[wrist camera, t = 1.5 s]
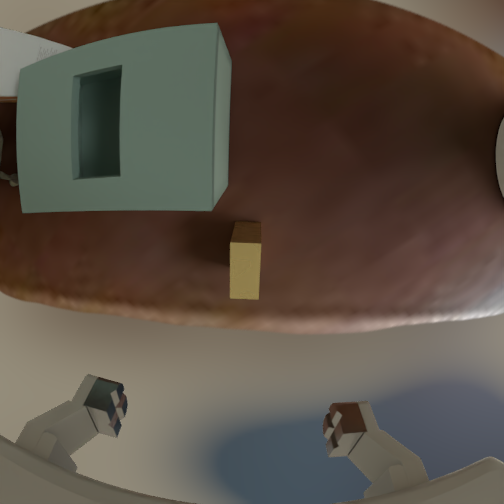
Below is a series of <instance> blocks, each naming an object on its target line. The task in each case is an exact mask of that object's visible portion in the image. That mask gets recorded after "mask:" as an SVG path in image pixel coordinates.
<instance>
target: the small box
mask: <svg viewBox="0 0 504 504" xmlns="http://www.w3.org/2000/svg"><path fill="white" fill-rule="evenodd" d="M70 49H73V48H71V47H68V46H65V45H62V44H59V43H56V42H53V41H50V40H46V39H43V38H40V37H37V36H33V35H30V34H26V33H22V32H18V31H14V30H11V29H6V28H2V27H0V103H12V102H17V98H18V85H19V76H20V69H22V68H24V67H26V66H28V65H31V64H33V63H35V62H38V61H40V60H43V59H45V58H48V57H51V56H53V55H56V54H59V53H62V52H64V51H67V50H70Z"/></svg>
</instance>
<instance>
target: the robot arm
mask: <svg viewBox="0 0 504 504" xmlns="http://www.w3.org/2000/svg"><path fill="white" fill-rule="evenodd" d="M496 170H497V177H498V182H499V186H500V189H501V192H502V195H503V197H504V118H503V120H502V122H501V125H500V128H499V132H498V136H497V143H496ZM123 391H124V386H123V384H122V383H118V382H115V381H111V380H107V379H104V378H100V377H97V376H93V375H90V374H88V375H87V376H86V377H85V378H84V380H83V381H82V383H81V385H80V387H79V388H78V390H77V392H76V394H75V396H74V397H73V399H72V401H66V402H65V403H63V404H61V405H59V406H57V407H55V408H53V409H51V410H49V411H48V412H46V413H44V414H42V415H40V416H38V417H36V418H34V419H32V420H30V421H28V422H27V424H26V425H25V427H24V429H23V430H22V432H21V434H20V436H19V437H18V439H17V441H16V443H13V442H11V441H10V440H8V439H6V438H5V437H3V436H1V435H0V504H196V503H188V502H182V501H176V500H170V499H165V498H160V497H155V496H150V495H146V494H142V493H138V492H134V491H130V490H127V489H123V488H119V487H116V486H113V485H109V484H106V483H103V482H100V481H97V480H94V479H92V478H89V477H86V476H83V475H81V474H78V473H76V470H77V466H76V464H75V463H74V461H73V460H72V459H71V457H70V455H71V454H73V453H74V452H75V451H76V450H78V449H79V448H81V447H82V446H83V445H84V444H85V443H87V442H88V441H90V440H91V439H92V438H94V437H95V436H96V435H97V434H98V433H101V434H105V435H108V436H112V437H118V434H119V431H120V429H121V422H120V420H121V419H123V418H124V417H125V415H126V412H127V405H128V404H127V397H126V396H125V395H124V394H123ZM329 411H330V413H328V414H327V415H326V416H325V418H324V421H323V434H324V436H325V437H326V438H327V439H328V441H327V443H326V448H327V453H328V457H339V456H348V458H349V459H350V460H351V461H352V462H353V463H354V464H355V465H356V466H357V467H358V468H359V469H360V470H361V472H363V474H364V475H366V477H367V478H368V479H369V480H370V481H371V482H372V483H373V484H372V485H371V486H370V487H369V488H368V489H367V490H366V491H365V492H364V497H365V498H364V499H359V500H353V501H348V502H341V503H334V504H504V463H503V462H501V461H499V460H498V459H496V458H493V457H486V458H484V459H482V460H480V461H477V462H475V463H473V464H471V465H469V466H467V467H465V468H462V469H460V470H457V471H455V472H452V473H450V474H447V475H445V476H442V477H439V478H436V479H434V480H431V481H429V479H428V476H427V474H426V471H425V469H424V466H423V464H422V461H421V459H420V458H419V457H418V456H417V455H415V454H414V453H412V452H411V451H410V450H408V449H407V448H406V447H404V446H403V445H402V444H400V443H399V442H398V441H396V440H395V439H394V438H392V437H391V436H390V435H388V434H387V433H386V432H385V431H383V430H379V428H378V425H377V422H376V419H375V417H374V414H373V412H372V409H371V406H370V404H369V402H368V401H360V402H342V403H332V404H331V405H330V407H329Z"/></svg>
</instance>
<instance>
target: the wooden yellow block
mask: <svg viewBox="0 0 504 504" xmlns="http://www.w3.org/2000/svg"><path fill="white" fill-rule="evenodd" d="M260 259H261V222H243V221H236V223H235V226H234V230H233V234H232V237H231V241H230V298H236V299H259V280H260Z"/></svg>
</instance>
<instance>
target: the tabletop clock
mask: <svg viewBox="0 0 504 504" xmlns="http://www.w3.org/2000/svg"><path fill="white" fill-rule="evenodd" d="M2 145H3V137H2V134H1V131H0V164H1V154H2ZM0 178H1V179H6V180H9V183H10V184H11V186H17V185H18V184H19V180H18V174H17V173H15V174H12V175H11V176H9V175H7V174H6V173H4V172H2V171H0Z"/></svg>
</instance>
